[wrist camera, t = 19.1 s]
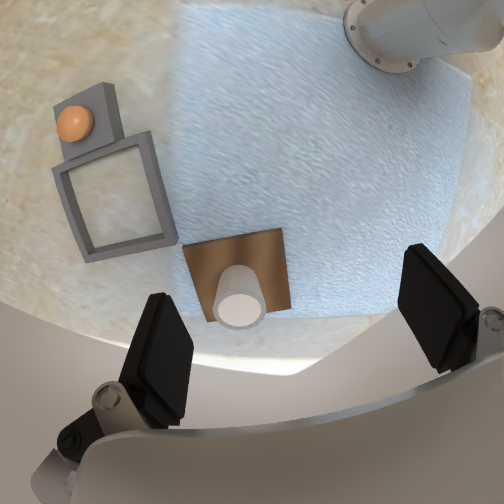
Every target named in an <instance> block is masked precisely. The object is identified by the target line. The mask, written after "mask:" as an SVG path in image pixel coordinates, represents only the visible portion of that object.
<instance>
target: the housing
mask: <svg viewBox="0 0 504 504" xmlns="http://www.w3.org/2000/svg"><path fill="white" fill-rule="evenodd" d="M69 106H85V107H87V108H89V109H90V111H91V112H92V115H93V126H92V129H91V131H90V133H89V134H88V135H87V136H86V137H85V138H83V139H81V140H78V141H74V142H65V141H63V140H62V139H61V138H60V137H59V139H60V143H61V148H62V152H63V156H64V160H65V162H64V163H62V164H60V165H58V166H55V167H53V168H52V172H53V175H54V179H55V182H56V186H57V189H58V192H59V195H60V198H61V201H62V204H63V207H64V210H65V213H66V216H67V219H68V221H69V224H70V227H71V229H72V232H73V234H74V237H75V239H76V242H77V244H78V247H79V249H80V251H81V254H82V256H83V258H84V261H85V263H90V262H95V261H99V260H104V259H109V258H113V257H118V256H123V255H128V254H133V253H138V252H142V251H147V250H152V249H157V248H162V247H167V246H173V245H176V243H177V241H178V238H179V237H178V234H177V231H176V227H175V224H174V220H173V217H172V214H171V210H170V206H169V203H168V199H167V196H166V192H165V188H164V184H163V181H162V177H161V173H160V169H159V165H158V161H157V157H156V153H155V148H154V144H153V140H152V136H151V131H145V132H142V133H139V134H136V135H133V136H130V137H127V138H125V137H124V132H123V128H122V123H121V119H120V114H119V109H118V104H117V99H116V93H115V88H114V84H110V83H105V82H101V83H99V84H97V85H95V86H93V87H90V88H88V89H86V90H84V91H82V92H80V93H78V94H76V95H74V96H72V97H70V98H68V99H66V100H65V101H63V102H61V103H59V104H57V105H56V106H54V107H53V108H54V114H55V119H56V125H57V120H58V117H59V115H60V114H61V112H62V111H63V110H64V109H65V108H67V107H69ZM135 144H139V148H140V152H141V156H142V160H143V164H144V168H145V172H146V176H147V180H148V183H149V187H150V190H151V194H152V197H153V201H154V204H155V208H156V211H157V215H158V218H159V221H160V224H161V228H162V231H163V233H161V234H156V235H151V236H147V237H142V238H138V239H133V240H129V241H124V242H120V243H116V244H111V245H107V246H103V247H99V248H95V249H94V247H93V244H92V242H91V239H90V236H89V234H88V231H87V229H86V226H85V223H84V221H83V218H82V215H81V212H80V209H79V206H78V203H77V200H76V197H75V194H74V191H73V188H72V185H71V181H70V178H69V174H68V171H67V170H69V169H71V168H73V167H76V166H78V165H80V164H83V163H85V162H88V161H90V160H93V159H95V158H98V157H101V156H103V155H106V154H109V153H112V152H114V151H117V150H120V149H123V148H126V147H129V146H132V145H135Z"/></svg>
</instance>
